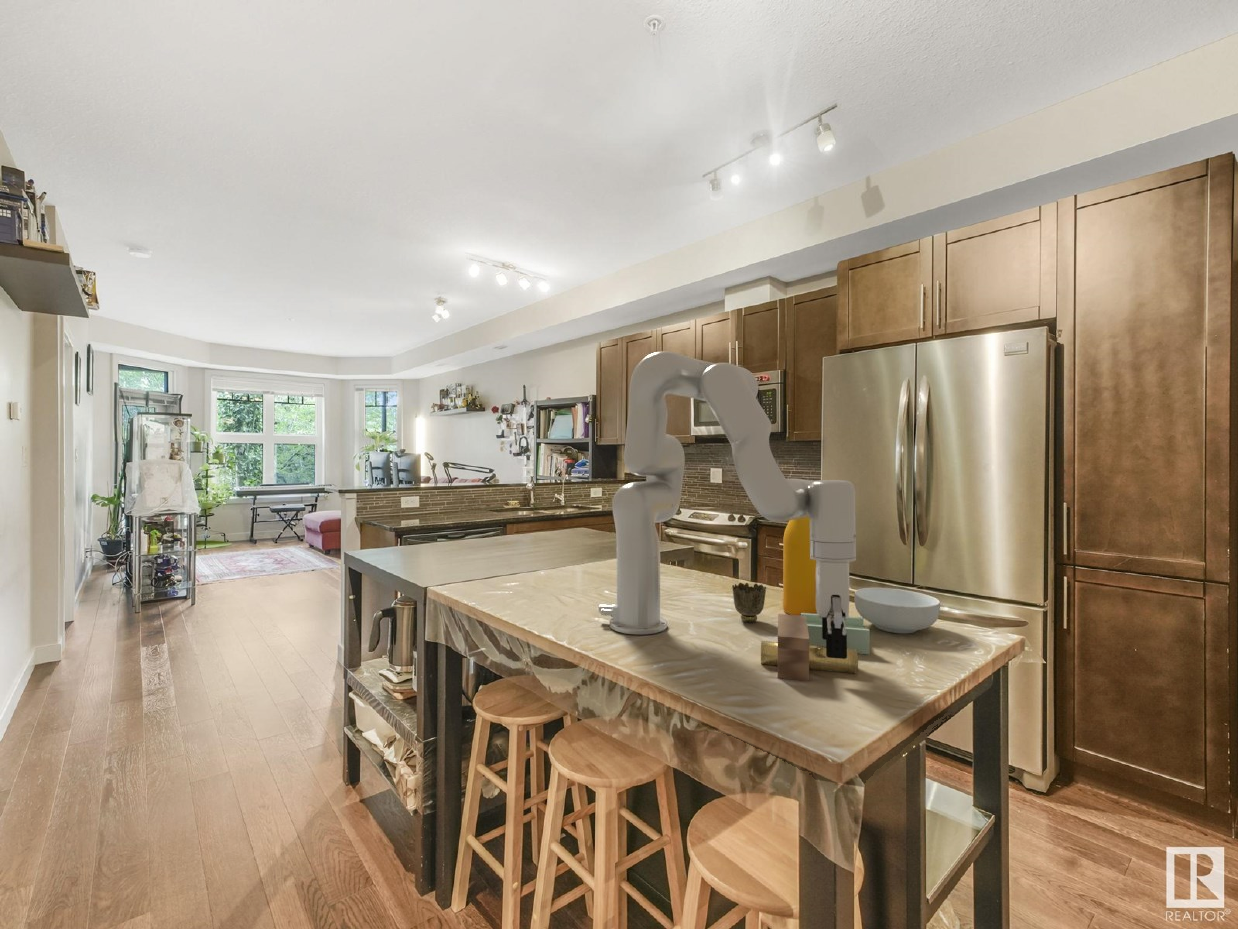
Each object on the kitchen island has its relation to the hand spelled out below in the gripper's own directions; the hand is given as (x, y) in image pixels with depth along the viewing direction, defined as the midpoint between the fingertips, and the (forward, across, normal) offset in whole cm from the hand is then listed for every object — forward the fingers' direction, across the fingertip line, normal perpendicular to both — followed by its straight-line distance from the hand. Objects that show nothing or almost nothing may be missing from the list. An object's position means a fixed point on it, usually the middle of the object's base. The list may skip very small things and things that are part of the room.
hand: (833, 648), depth 98 cm
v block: (+4, -14, +1) cm, 15 cm away
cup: (+3, -25, -16) cm, 30 cm away
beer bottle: (+4, -36, -4) cm, 37 cm away
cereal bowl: (+4, -29, +15) cm, 33 cm away
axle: (+2, 0, -4) cm, 5 cm away
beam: (+4, 0, -7) cm, 8 cm away
